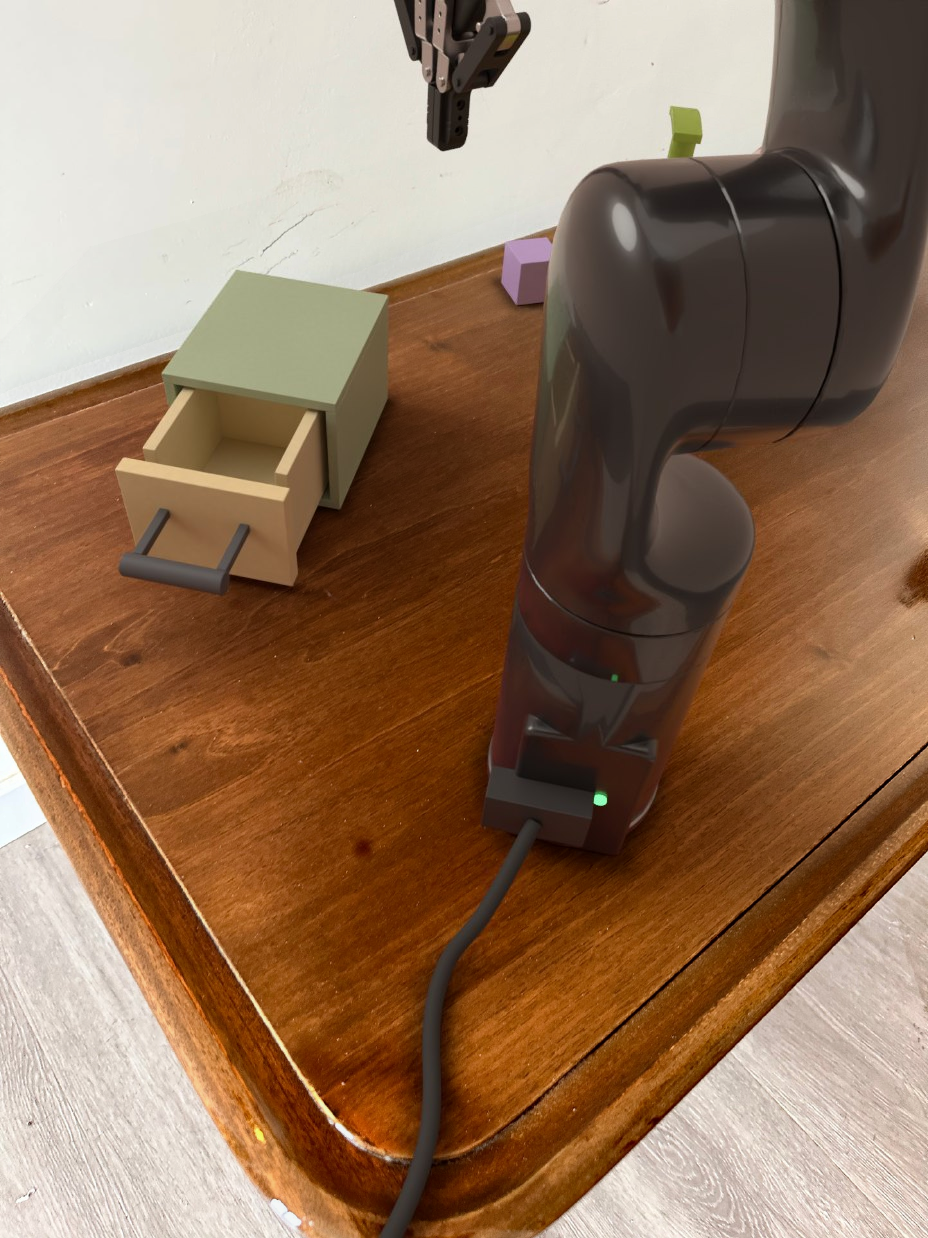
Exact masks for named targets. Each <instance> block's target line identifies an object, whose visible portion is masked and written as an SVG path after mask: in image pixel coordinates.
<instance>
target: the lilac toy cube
mask: <svg viewBox="0 0 928 1238" xmlns="http://www.w3.org/2000/svg"><path fill="white" fill-rule="evenodd" d="M552 244H553V243H552V242H551V241H550V239H549V238H548V237H545V236H543V237H535V238H526V239H515V240H508V241H507V240H506V241H505V242H504V253H503V260H502V261H503V262H502V271H501V279H500V283H501V285H502V286H503V288H504V289H505V291H506V292H507V294H508V295H509V296H510V298H511V300H512V301H513V302H514V304H515V306H522V305H530V304H531V305H532V304H538V303H544V297H545V288H546V279H547V271H548V264H549V259H550V254H551V249H552Z"/></svg>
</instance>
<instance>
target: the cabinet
mask: <svg viewBox="0 0 928 1238" xmlns="http://www.w3.org/2000/svg"><path fill="white" fill-rule="evenodd" d="M389 301H390V297H389V294H382V293H377V292H371V291H366V290H360V289H353V288H348V287H341V286H335V285H330V284H325V283H324V284H323V283H318V282H312V281H305V280H300V279H294V278H288V277H283V276H276V275H270V274H265V273H258V272H252V271H246V270H241V269H235V270H234V271H233V273H232V275H231V276H230V277H229V278H228V280H227V281H226V283H225V284H224V286H223V287H222V288H221V290H220V291H219V292H218V294H217V295H216V297H215V298H214V299H213V301H212V302H211V304H210V305H209V306H208V307H207V309H206V311H204V313H203V315H202V316H201V318H200V319H199V321H198V322H197V323H196V324H195V326H194V327H193V328H192V330H191V331H190V333H189V334H188V336H187V337H186V338H185V340H184V341H183V343H182V344H181V345H180V346H179V348H178V350H177V351H176V352H175V353H174V355H173V356H172V358H171V359H170V361H169V362H168V363H167V365H166V366H165V368H164V369H163V370H162V371H161V378H162V382H163V386H164V391H165V396H166V401H167V406H168V409H169V408H170V407H171V405H172V404H173V402H174V401H175V399H176V398H177V397H178V395H179V394H180V392H181V391H182V389H183V388H184V386H188V387H193V388H199V389H204V390H210V391H216V392H221V393H227V394H232V395H238V396H244V397H249V398H255V399H260V400H266V401H271V402H277V403H283V404H288V405H294V406H299V407H305V408H311V409H316V410H322V411H326V428H327V447H328V466H329V482H328V484H327V486H326V488H325V490H324V493H323V495H322V497H321V499H320V501H319V504H318V506H317V507H323V508H329V509H334V510H341V509H342V506H343V504H344V501H345V499H346V498H347V497H346V496H347V494H348V492H349V490H350V487H351V485H352V482H353V480H354V478H355V475H356V473H357V471H358V469H359V467H360V464H361V462H362V460H363V457H364V455H365V452H366V450H367V448H368V446H369V443H370V441H371V439H372V436H373V435H374V432H375V429H376V427H377V424H378V422H379V420H380V418H381V416H382V413H383V411H384V408H385V407H386V404H387V401H388V399H389V392H388V391H389V304H390V302H389Z"/></svg>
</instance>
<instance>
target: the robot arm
mask: <svg viewBox="0 0 928 1238" xmlns="http://www.w3.org/2000/svg"><path fill="white" fill-rule="evenodd" d="M393 2H394V7H395V10H396V14H397V17H398V21H399V25H400V28H401V32H402V35H403V39H404V43H405V48H406V50H407V54H408V56H409V59H410V60H411V61H412V62H417V61H419V63H420V64H421V73H422V77H423V80H424V81H425V82H426V83H427V101H426V112H427V113H426V140H427V142H429V143H430V144H431V145H432V146H434V147H435V148H436V149H437V150H439V151H440V152H447V151H453V150H456V149H460V148H463V146H464V145H465V144H466V143H467V142H466V141H467V139H468V135H469V123H470V122H469V121H470V120H469V119H470V107H471V95H472V91H473V90H477V89H478V90H479V89H483V88H484V89H487V88H493V87H494V86H495V85H496V83H497V81H498V80H499V78H500V77H501V75H502V74H503V72H504V71H505V70H506V68H507V67H508V65H509V64H510V63H511V61H512V60H513V58H514V57H515V56H516V54H517V52H518V51H519V50H520V48H521V47H522V45H524V43H525V41H526V39H527V38H528V36H529V35H530V33H531V30H532V20H531V17H530V14H529V13H528V12H527V11H520V12H516V11H515V8H514V7H513V3H512V1H511V0H393ZM773 18H774V23H773V25H774V27H773V47H772V49H773V50H772V67H771V79H770V80H771V81H770V87H769V88H770V89H769V99H768V107H767V115H766V119H765V120H766V122H765V128H764V134H763V139H762V143H761V146H762V147H761V146H760V147H761V151H760V154H752V153H748V154H747V153H745V154H729V155H728V154H727V155H725V154H723V155H708V156H707V155H706V156H705V155H704V156H693V157H682V158H667V157H666V158H665V157H664V158H662V157H661V158H646V159H645V158H641V159H633V160H632V159H631V160H622V161H621V160H620V161H615V162H610V163H606V164H603V165H600V166H598V167H596V168H594V169H593V170H591V171H589V172H588V173H587V174H586V175H585V176H583V178H581V180H580V181H579V182H578V183H577V184H576V186H575V188H574V189H573V191H571V193H570V195H569V197H568V199H567V201H566V203H565V205H564V206H563V209H562V211H561V213H560V217H559V219H558V223H557V226H556V229H555V232H554V236H553V239H552V243H551V244H552V249H551V254H550V259H549V264H548V271H547V279H546V288H545V297H544V302H543V309H542V320H541V321H542V322H541V334H540V347H539V360H538V373H537V374H538V375H537V385H536V395H535V405H534V414H533V421H532V429H531V437H530V447H529V459H528V460H529V461H528V502H527V503H528V504H527V518H526V524H525V525H526V526H525V531H524V532H525V533H524V539H523V545H522V551H521V559H520V565H519V570H518V577H517V581H516V587H515V594H514V599H513V605H512V612H511V617H510V618H511V619H510V624H509V631H508V637H507V643H506V648H505V649H506V650H505V655H504V661H503V662H504V663H503V668H502V675H501V680H500V688H499V694H498V700H497V706H496V713H495V719H494V727H493V734H492V736H491V738H490V742H489V745H488V746H489V747H488V753H487V759H486V772H487V774H486V775H487V779H488V780H487V781H488V782H487V787H486V792H485V796H484V803H483V809H482V815H481V820H480V826H481V827H486V828H490V829H495V830H500V831H504V832H505V833H507V834H511V835H515V836H517V837H516V839H515V840H514V842H513V843H512V846H511V848H510V850H509V851H508V853H507V856H506V857H505V859H504V861H503V863H502V865H501V867H500V868H499V870H498V872H497V874H496V875H495V878H494V879H493V880H492V883H491V884H490V886H489V888H488V890H487V892H486V893H485V895H484V896H483V897H482V900H481V901H480V902H479V905H478V906H477V907H476V909H475V910H474V912H473V913H472V915H471V916H470V917H469V919H468V920H467V921H466V922H465V923H464V925H462V927H461V928H460V929H459V931H457V933H456V934H455V935H454V936H453V937H452V938H451V940H450V941H449V942H448V944H447V945H446V946H445V948H444V950H443V951H442V953H441V954H440V956H439V958H438V960H437V963H436V965H435V968H434V970H433V973H432V977H431V980H430V983H429V985H428V989H427V993H426V994H427V995H426V998H425V1003H424V1011H423V1018H422V1021H423V1022H422V1033H421V1034H422V1035H421V1036H422V1037H421V1041H422V1042H421V1048H422V1050H421V1051H422V1052H421V1053H422V1055H421V1056H422V1101H421V1102H422V1103H421V1116H420V1125H419V1130H418V1136H417V1141H416V1145H415V1149H414V1152H413V1156H412V1160H411V1163H410V1166H409V1168H408V1172H407V1174H406V1178H405V1180H404V1182H403V1185H402V1188H401V1191H400V1193H399V1195H398V1198H397V1199H396V1202H395V1204H394V1206H393V1209H392V1211H391V1213H390V1214H389V1216H388V1219H387V1221H386V1223H385V1225H384V1227H383V1229H382V1230H381V1232H380V1233H379V1235H378V1237H377V1238H403V1237H404V1236H405V1234H406V1232H407V1229H408V1227H409V1226H410V1223H411V1222H412V1220H413V1217H414V1215H415V1212H416V1210H417V1207H418V1205H419V1203H420V1200H421V1197H422V1195H423V1192H424V1190H425V1187H426V1184H427V1181H428V1178H429V1175H430V1172H431V1169H432V1166H433V1162H434V1157H435V1154H436V1150H437V1145H438V1138H439V1133H440V1124H441V1116H442V1115H441V1114H442V1065H441V1063H442V1061H441V1060H442V1059H441V1028H442V1026H441V1025H442V1024H441V1023H442V1015H443V1008H444V1003H445V997H446V994H447V989H448V987H449V983H450V980H451V977H452V974H453V972H454V969H455V967H456V965H457V964H458V962H459V960H460V959H461V957H462V956H463V954H464V953H465V952H466V951H467V949H468V948H469V947H470V946H471V945H472V944H473V942H474V941H475V940H476V939H477V938H478V937H479V936H480V935H481V934H482V932H483V931H484V930H485V928H486V927H487V926H488V924H489V923H490V921H491V920H492V918H493V917H494V915H495V913H496V912H497V910H498V909H499V907H500V905H501V904H502V903H503V901H504V899H505V897H506V895H507V893H508V892H509V890H510V888H511V886H512V884H513V883H514V881H515V879H516V877H517V875H518V874H519V871H520V870H521V868H522V866H523V864H524V863H525V860H526V858H527V857H528V854H529V852H530V850H531V848H532V847H533V845H534V843H535V841H536V840H538V841H543V842H547V843H550V844H553V845H557V846H562V847H567V848H576V849H581V850H585V851H590V852H595V853H599V854H604V855H609V856H618V855H619V853H620V851H621V849H622V847H623V844H624V841H625V839H626V837H627V835H628V834H630V833H631V832H632V831H634V830H635V829H636V828H637V827H638V826H639V825H640V824H641V823H642V822H643V820H644V819H645V817H646V816H647V815H648V812H649V811H650V809H651V807H652V805H653V802H654V800H655V797H656V795H657V792H658V788H659V783H660V781H661V778H662V776H663V773H664V771H665V769H666V766H667V763H668V760H669V758H670V756H671V753H672V752H673V748H674V746H675V744H676V741H677V740H678V737H679V734H680V732H681V730H682V728H683V724H684V723H685V720H686V718H687V715H688V713H689V710H690V708H691V706H692V703H693V701H694V698H695V697H696V694H697V692H698V689H699V687H700V684H701V682H702V679H703V677H704V674H705V673H706V670H707V669H708V665H709V663H710V660H711V658H712V656H713V653H714V651H715V649H716V646H717V644H718V641H719V639H720V637H721V635H722V633H723V631H724V629H725V626H726V623H727V622H728V619H729V617H730V616H729V615H730V614H731V612H732V609H733V606H734V605H735V602H736V599H737V597H738V596H739V593H740V590H741V589H742V586H743V584H744V581H745V579H746V576H747V574H748V572H749V569H750V566H751V564H752V560H753V557H754V553H755V548H756V540H757V539H756V536H757V534H756V533H757V532H756V524H755V523H756V522H755V520H754V516H753V513H752V511H751V508H750V506H749V503H748V502H747V500H746V499H745V498H744V496H743V494H742V492H741V491H740V490H739V489H738V487H737V486H736V485H735V483H734V482H733V481H732V480H731V479H729V477H727V476H726V475H725V473H724V472H722V471H721V470H720V469H718V468H717V467H716V466H715V465H713V464H712V463H710V462H709V461H707V460H706V459H704V458H702V457H700V456H699V455H697V454H695V453H702V452H711V451H719V450H728V449H736V448H743V447H744V448H745V447H752V446H759V445H767V444H776V443H783V442H789V441H795V440H803V439H810V438H814V437H818V436H823V435H825V434H829V433H831V432H834V431H836V430H839V429H842V428H843V427H845V426H848V425H849V424H850V423H851V422H853V421H854V420H856V419H857V418H858V417H860V416H861V415H862V414H863V413H864V412H865V411H866V410H867V409H868V408H869V406H870V405H871V404H872V403H873V402H874V400H875V399H876V397H877V395H878V394H879V393H880V391H881V390H882V388H883V387H884V385H885V384H886V382H887V380H888V379H889V376H890V374H891V372H892V370H893V368H894V366H895V363H896V360H897V357H898V355H899V353H900V351H901V348H902V345H903V343H904V340H905V338H906V335H907V331H908V328H909V325H910V321H911V318H912V315H913V310H914V307H915V303H916V302H915V301H916V299H917V296H918V295H917V294H918V291H919V285H920V281H921V276H922V271H923V267H924V263H925V256H926V250H927V245H928V0H774V17H773Z"/></svg>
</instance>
